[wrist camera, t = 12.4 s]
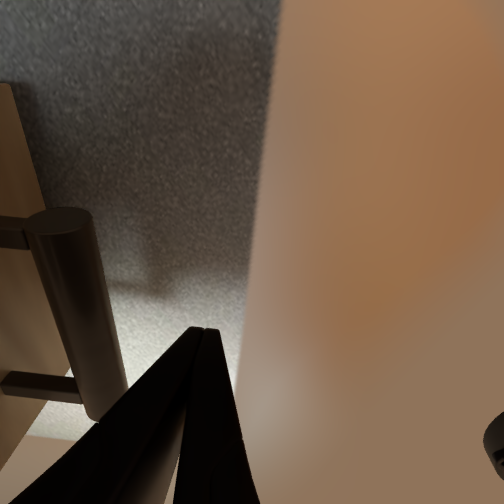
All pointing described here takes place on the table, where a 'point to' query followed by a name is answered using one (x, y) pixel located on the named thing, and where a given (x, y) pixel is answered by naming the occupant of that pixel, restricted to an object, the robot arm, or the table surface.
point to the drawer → (48, 299)
